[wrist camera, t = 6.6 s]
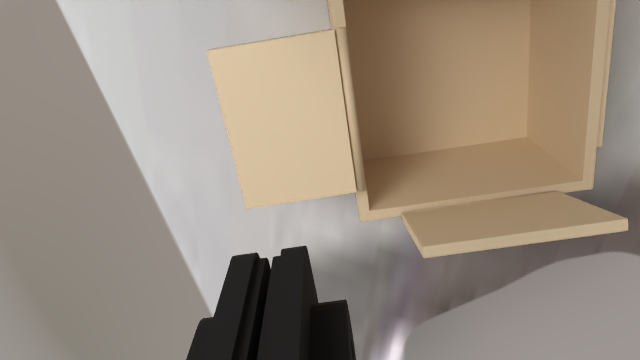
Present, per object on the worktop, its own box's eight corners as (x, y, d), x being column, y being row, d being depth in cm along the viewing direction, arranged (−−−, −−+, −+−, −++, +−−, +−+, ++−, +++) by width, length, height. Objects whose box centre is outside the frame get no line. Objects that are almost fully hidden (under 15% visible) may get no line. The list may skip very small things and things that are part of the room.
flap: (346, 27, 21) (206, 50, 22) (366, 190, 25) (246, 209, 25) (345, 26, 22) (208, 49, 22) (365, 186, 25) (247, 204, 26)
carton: (547, -74, 28) (630, -89, 20) (538, 139, 33) (602, 187, 26) (322, -35, 28) (324, -37, 21) (350, 167, 34) (360, 221, 27)
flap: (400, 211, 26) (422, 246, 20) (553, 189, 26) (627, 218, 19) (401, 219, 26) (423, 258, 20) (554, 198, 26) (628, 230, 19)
